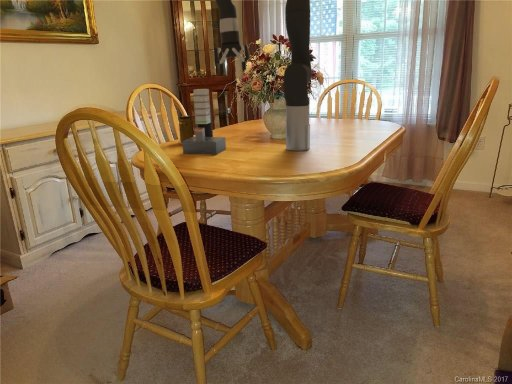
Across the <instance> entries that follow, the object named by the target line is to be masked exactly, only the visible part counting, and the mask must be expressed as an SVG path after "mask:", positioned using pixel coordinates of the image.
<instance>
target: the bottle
mask: <svg viewBox="0 0 512 384" xmlns="http://www.w3.org/2000/svg"><path fill="white" fill-rule="evenodd" d="M210 113H211V115H210V120H211V123H208V124H196V125H197V128H205V137H214V133H213V115H212V106H210Z"/></svg>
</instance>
